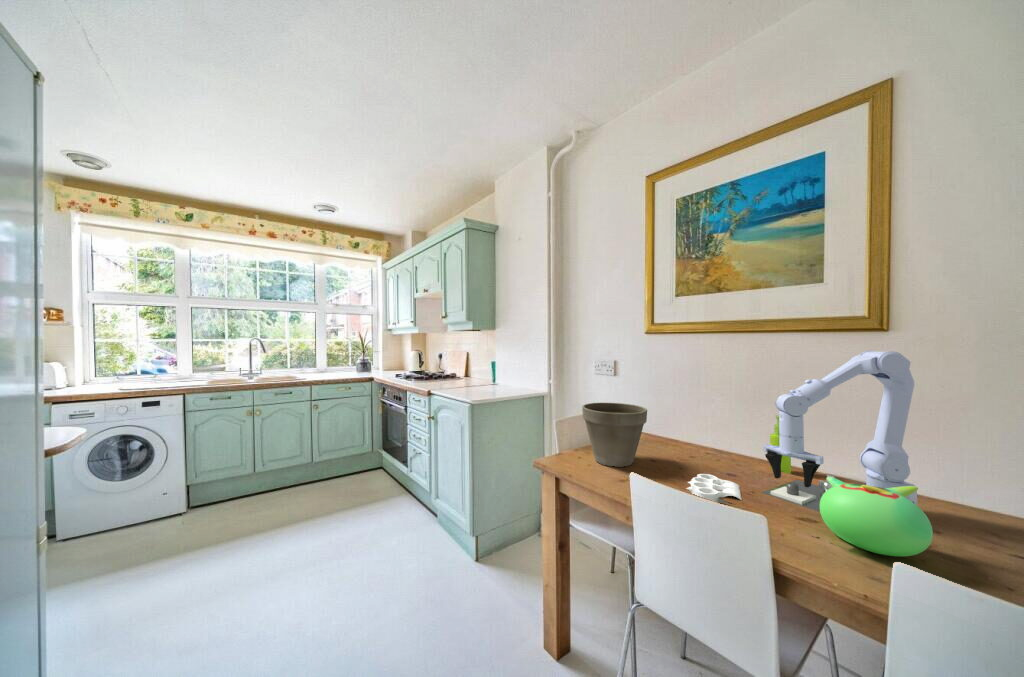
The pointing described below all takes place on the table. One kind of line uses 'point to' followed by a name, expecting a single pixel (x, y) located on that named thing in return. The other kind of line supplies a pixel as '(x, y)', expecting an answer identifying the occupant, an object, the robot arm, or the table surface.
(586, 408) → the plant pot
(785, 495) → the cover
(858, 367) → the robot arm
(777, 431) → the soap dispenser
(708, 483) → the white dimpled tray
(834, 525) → the toy bird
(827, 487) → the t key
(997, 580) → the table surface
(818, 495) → the panel
